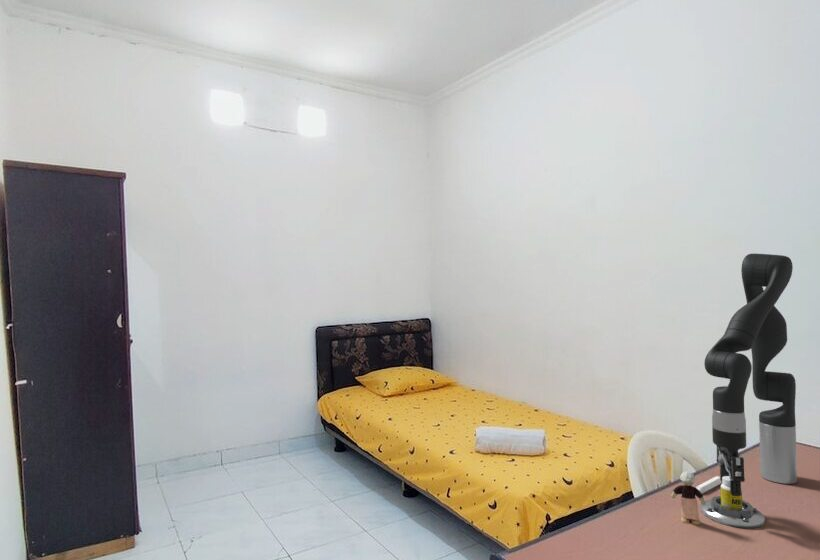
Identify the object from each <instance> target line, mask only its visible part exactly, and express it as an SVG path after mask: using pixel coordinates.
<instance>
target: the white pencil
mask: <svg viewBox="0 0 820 560" xmlns="http://www.w3.org/2000/svg"><path fill="white" fill-rule="evenodd" d="M721 484H723V483H722V482H721V480H720V476H718V475H716V476H713V477H712V478H710V479H708V480H706V481H704V482H703V483H701V484H699V485H696V487H695V488H697V489H698V490H699V491H700V493H701V494H702V495H703V494H704V493H707V492H709V491H711V490H713V489H714V488H716V487H718V486H719V485H720V486H721Z"/></svg>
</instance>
